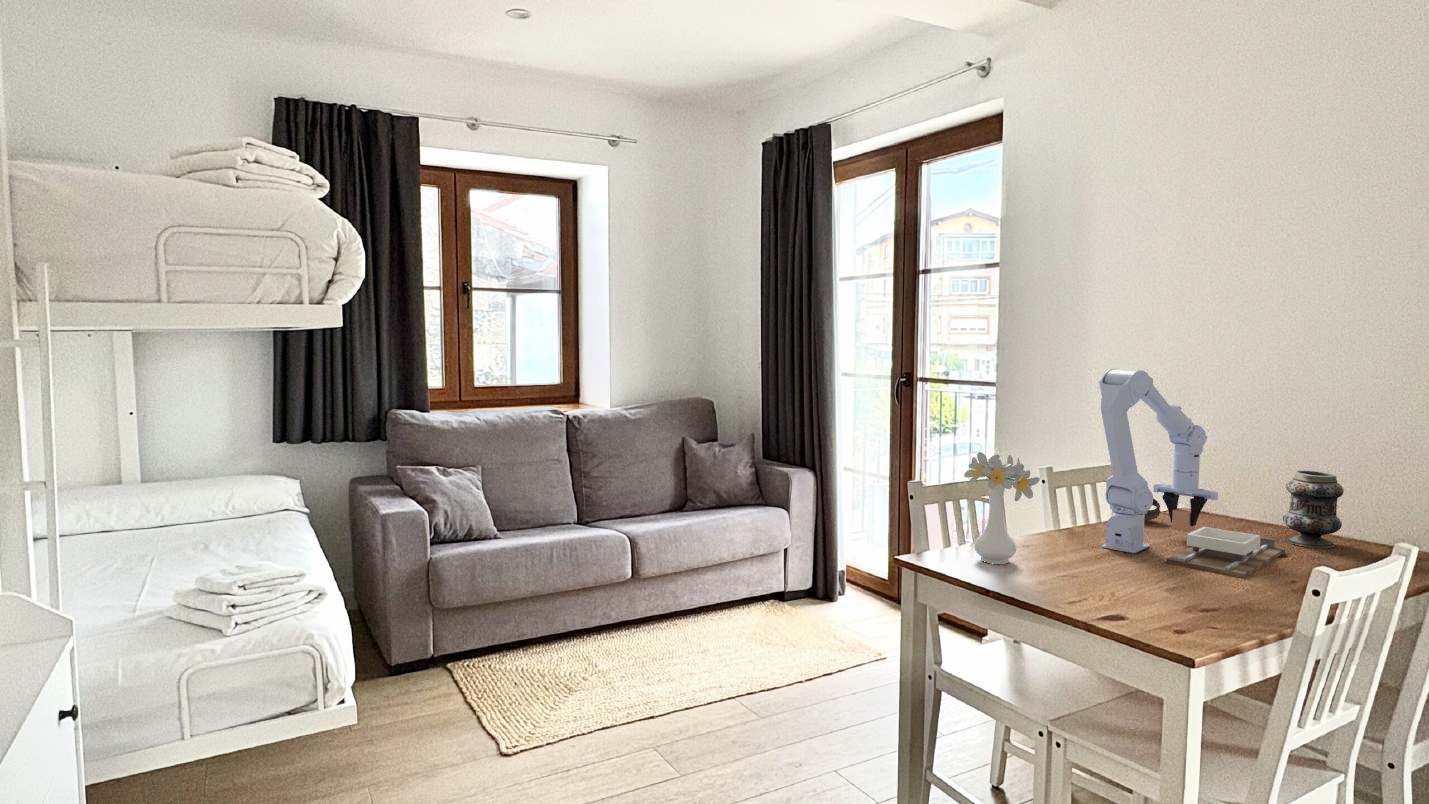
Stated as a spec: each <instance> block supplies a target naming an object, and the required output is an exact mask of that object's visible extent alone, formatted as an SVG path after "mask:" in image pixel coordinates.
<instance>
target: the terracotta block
mask: <svg viewBox="0 0 1429 804" xmlns="http://www.w3.org/2000/svg"><path fill="white" fill-rule="evenodd" d="M1190 519H1191V509H1187V508H1181V507H1177V509H1175V510H1173V514H1172V523H1171V530H1173V531H1178V532H1183V533H1191V532H1193V531H1195V530H1196V529H1195V527H1196V525H1195V526H1190Z"/></svg>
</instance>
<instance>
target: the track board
mask: <svg viewBox="0 0 1429 804" xmlns="http://www.w3.org/2000/svg"><path fill="white" fill-rule="evenodd" d="M1285 552H1286V548H1284V547H1278V546H1276V539H1275V538H1270V537H1263V536H1261V538H1260V547H1258V548H1257V549H1255V550H1253V553H1252V554H1250V553H1248V554H1246V555H1243V557H1242V560H1238V559H1236V555H1237V554H1234V553H1228V552H1222V551H1217V550H1211V549H1205V548H1200V547H1199V551H1198V552H1194V551H1193V546H1189V547H1188V548H1185V549H1184V550H1181V551H1179V552H1177V553H1175V554H1173V555H1172V556H1169V557H1167V558H1166V560H1165V563H1166V564H1169V565H1174V566H1179V567H1185V568H1189V569H1194V570H1201V571H1205V572H1211V573H1216V574H1221V575H1226V576H1231V577H1237V578H1240V579H1241V578H1242V579H1246V578H1248V577H1249V576H1250V575H1253V573H1255V572H1257V571H1258V570H1261V568H1263V567H1264V566H1266V565H1268V564H1269V563H1271V562H1272V561H1275V560H1276V559H1277V558H1279V557H1280V556H1282V555H1283V554H1285ZM1281 554H1282V555H1281ZM1278 556H1279V557H1278Z"/></svg>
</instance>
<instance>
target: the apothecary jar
mask: <svg viewBox="0 0 1429 804" xmlns="http://www.w3.org/2000/svg"><path fill="white" fill-rule="evenodd" d="M1337 478H1338V477H1337V475H1336V474H1335V473H1331V472H1327V471H1326V472H1325V471H1320V470H1309V469H1307V470H1306V469H1304V470H1303V469H1302V470H1301V469H1299V470H1294V476H1293V478H1291V479H1290V480H1288V481H1287V482H1286V484H1285V489H1286V491H1287V492H1288V493H1290V501H1289V510H1288V511H1286V512H1285V513H1284V514H1283V515H1282V521H1283V523H1284V524H1285V526H1287V527H1288V528H1289V529H1292V530H1293V531H1295V532H1298V533H1299V534H1300V535H1295V536H1292V537H1289V538H1287V539H1286V542H1287V541H1288V543H1289V544H1291V545H1294V544H1295V545H1294V546H1297V545H1299V547H1302V546H1306V547H1305V548H1309V547H1311V548H1310V549H1321V548H1326V549H1332V548H1331V547H1333V546H1335V547H1336V545H1335V543H1334V542H1332V541H1331V540H1328V539H1326V538H1323V537H1322V536H1324V535H1326V536H1327V535H1331V534H1334V533H1337V532H1338V531H1340V529H1341V528H1342V526H1343V524H1342V520H1341V519H1340V518H1339V517H1338V516H1337V507H1338V499H1339V498H1340V497H1342V496H1343V495H1344V493H1345V490H1344V487H1343V486H1342V485H1341V484H1340V483H1338V480H1337Z"/></svg>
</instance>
